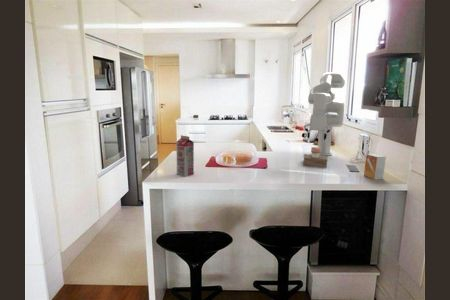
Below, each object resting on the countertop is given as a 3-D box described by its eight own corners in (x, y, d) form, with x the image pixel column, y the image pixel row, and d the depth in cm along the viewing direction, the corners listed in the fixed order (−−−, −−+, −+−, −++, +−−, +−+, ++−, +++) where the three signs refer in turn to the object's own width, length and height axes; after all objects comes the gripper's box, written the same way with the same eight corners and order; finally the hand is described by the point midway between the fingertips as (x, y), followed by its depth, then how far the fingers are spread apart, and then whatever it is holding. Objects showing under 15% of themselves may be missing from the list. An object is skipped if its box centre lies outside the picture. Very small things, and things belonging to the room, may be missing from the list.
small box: (363, 175, 167) (366, 153, 165) (372, 175, 169) (374, 153, 167) (374, 179, 160) (377, 156, 157) (383, 178, 162) (386, 156, 159)
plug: (310, 162, 192) (311, 146, 190) (318, 163, 191) (320, 147, 189) (310, 164, 187) (311, 148, 185) (319, 165, 185) (320, 148, 183)
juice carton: (185, 172, 166) (185, 134, 161) (193, 174, 162) (193, 136, 157) (176, 174, 161) (176, 135, 156) (184, 177, 156) (184, 137, 152)
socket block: (303, 162, 197) (304, 153, 196) (324, 164, 194) (325, 155, 193) (303, 167, 184) (304, 158, 183) (326, 169, 180) (327, 159, 179)
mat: (335, 164, 193) (335, 163, 193) (355, 166, 190) (355, 165, 190) (338, 170, 178) (338, 169, 178) (359, 172, 175) (359, 171, 174)
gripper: (332, 113, 183) (330, 139, 186) (304, 112, 188) (302, 137, 191) (333, 113, 176) (331, 141, 179) (304, 112, 181) (302, 139, 184)
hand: (316, 139), depth 185 cm, fingers open, 9 cm apart
